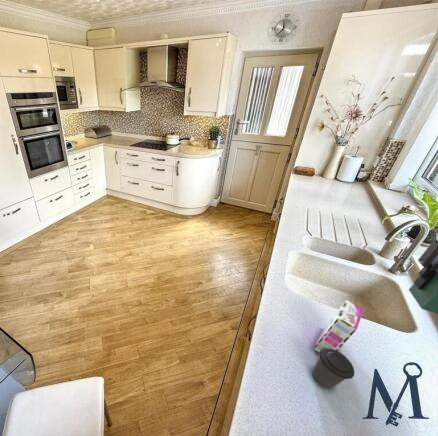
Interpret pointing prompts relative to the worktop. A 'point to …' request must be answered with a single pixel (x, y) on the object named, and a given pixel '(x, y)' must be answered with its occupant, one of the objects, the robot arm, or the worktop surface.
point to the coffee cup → (332, 368)
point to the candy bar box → (340, 327)
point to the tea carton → (427, 295)
